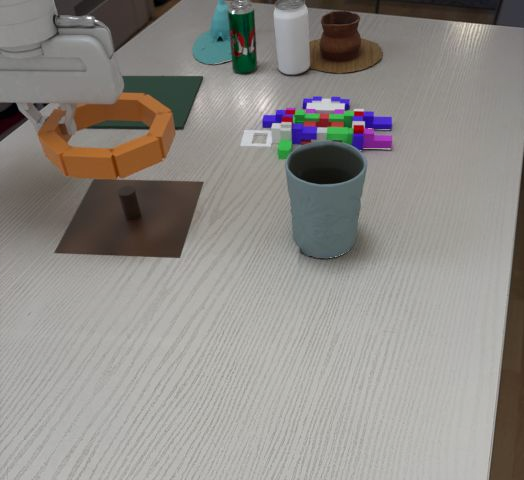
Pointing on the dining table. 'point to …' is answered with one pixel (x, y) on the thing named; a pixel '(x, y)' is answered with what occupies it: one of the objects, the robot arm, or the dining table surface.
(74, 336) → the dining table surface
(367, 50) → the ceramic pot
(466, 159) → the dining table surface
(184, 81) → the mat
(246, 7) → the soda can
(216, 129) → the dining table surface
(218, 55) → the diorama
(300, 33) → the can
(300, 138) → the building block set
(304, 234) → the grey blue cup
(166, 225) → the ring toss
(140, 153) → the ring
